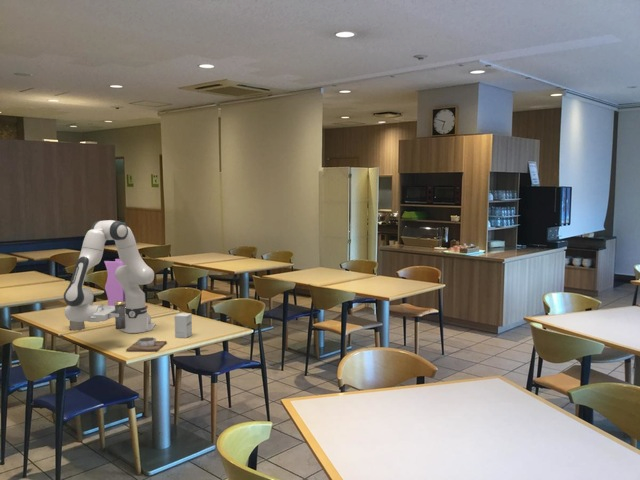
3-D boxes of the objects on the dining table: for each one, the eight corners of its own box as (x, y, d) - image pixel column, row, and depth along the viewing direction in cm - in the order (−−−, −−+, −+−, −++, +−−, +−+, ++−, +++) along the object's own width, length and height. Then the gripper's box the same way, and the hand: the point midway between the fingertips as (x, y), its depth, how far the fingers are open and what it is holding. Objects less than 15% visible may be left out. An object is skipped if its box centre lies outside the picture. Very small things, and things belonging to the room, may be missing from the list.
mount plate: (137, 343, 299) (137, 340, 298) (166, 343, 298) (166, 341, 298) (126, 351, 283) (126, 349, 282) (156, 351, 282) (156, 349, 282)
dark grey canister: (117, 326, 294) (116, 300, 292) (127, 326, 293) (127, 300, 292) (113, 329, 288) (112, 302, 287) (123, 329, 288) (122, 303, 287)
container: (118, 307, 392) (116, 258, 389) (134, 308, 389) (133, 259, 386) (105, 311, 379) (103, 261, 376) (123, 312, 375) (121, 261, 372)
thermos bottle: (77, 327, 335) (76, 281, 332) (87, 328, 331) (85, 282, 329) (67, 330, 327) (64, 283, 325) (76, 331, 324) (74, 284, 322)
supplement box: (186, 338, 308) (186, 316, 307) (174, 337, 310) (174, 315, 309) (192, 334, 315) (191, 313, 314) (180, 334, 317) (180, 312, 316)
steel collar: (141, 342, 295) (141, 337, 294) (157, 342, 294) (157, 337, 294) (135, 347, 286) (135, 341, 286) (152, 347, 286) (152, 341, 285)
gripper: (86, 312, 280) (113, 312, 279) (104, 303, 300) (129, 304, 300) (87, 324, 281) (113, 324, 280) (104, 315, 301) (129, 315, 300)
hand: (121, 313), depth 290 cm, fingers closed on dark grey canister, 5 cm apart
